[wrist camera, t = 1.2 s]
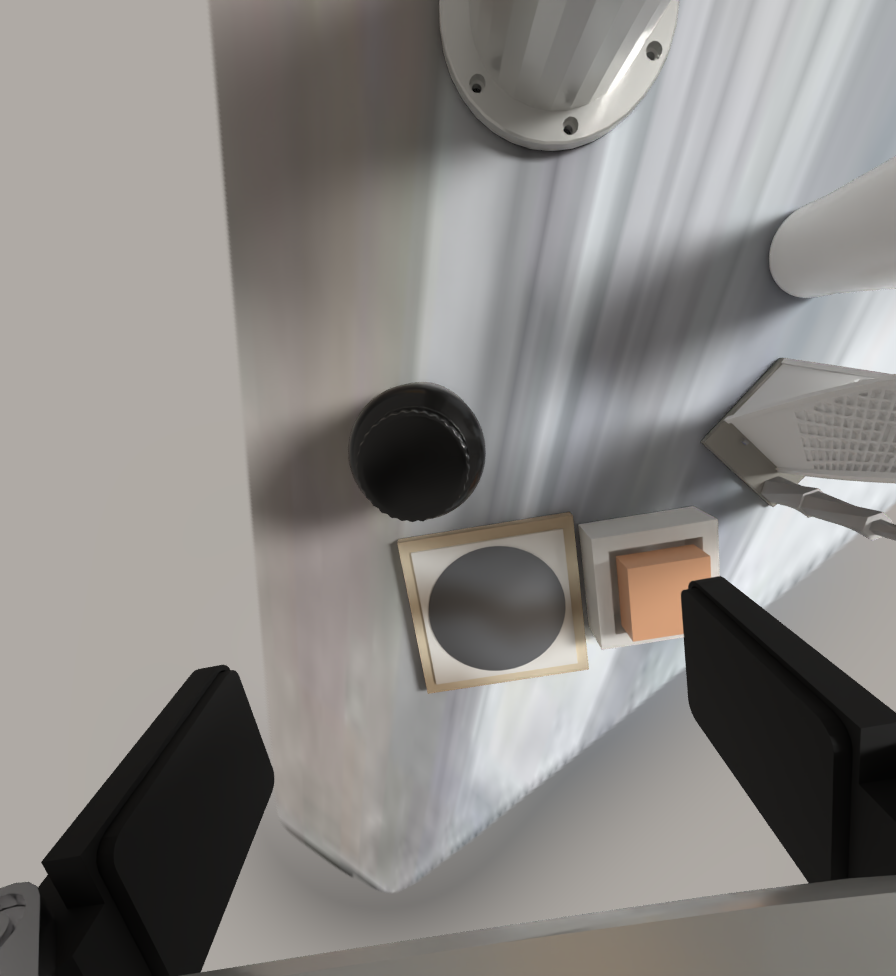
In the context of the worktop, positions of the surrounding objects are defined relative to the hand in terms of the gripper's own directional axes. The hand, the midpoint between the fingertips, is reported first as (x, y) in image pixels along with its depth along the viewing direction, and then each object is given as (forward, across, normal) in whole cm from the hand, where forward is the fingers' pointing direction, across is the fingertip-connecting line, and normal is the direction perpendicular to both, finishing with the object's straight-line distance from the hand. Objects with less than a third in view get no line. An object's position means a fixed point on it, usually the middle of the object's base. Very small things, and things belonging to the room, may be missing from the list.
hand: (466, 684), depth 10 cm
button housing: (+23, -12, +10) cm, 28 cm away
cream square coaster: (+23, -1, +11) cm, 25 cm away
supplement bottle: (+23, +1, -2) cm, 23 cm away
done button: (+20, -12, +10) cm, 25 cm away
